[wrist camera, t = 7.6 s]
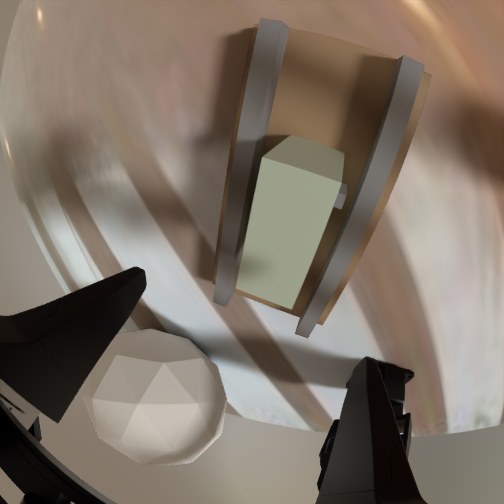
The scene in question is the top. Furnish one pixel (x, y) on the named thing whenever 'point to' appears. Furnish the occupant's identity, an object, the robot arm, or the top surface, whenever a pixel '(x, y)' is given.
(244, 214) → the track board
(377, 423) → the robot arm
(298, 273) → the sage green box
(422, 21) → the top surface
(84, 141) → the top surface
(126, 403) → the ball
